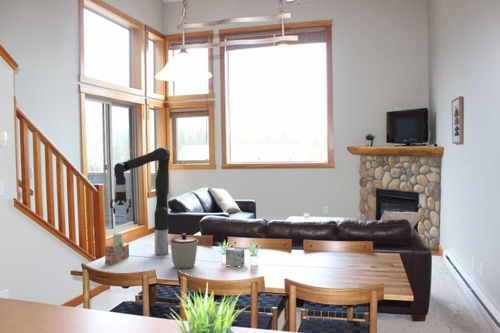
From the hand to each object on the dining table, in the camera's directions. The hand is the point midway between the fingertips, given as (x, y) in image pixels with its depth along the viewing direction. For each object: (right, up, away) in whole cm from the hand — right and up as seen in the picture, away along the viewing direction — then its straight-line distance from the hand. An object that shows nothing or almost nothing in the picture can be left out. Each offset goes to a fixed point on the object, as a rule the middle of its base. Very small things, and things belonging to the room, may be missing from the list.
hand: (120, 213), depth 304 cm
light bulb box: (+82, -30, -31) cm, 93 cm away
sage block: (+4, -17, -22) cm, 28 cm away
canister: (+50, -30, -34) cm, 68 cm away
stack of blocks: (+4, -29, -20) cm, 36 cm away
